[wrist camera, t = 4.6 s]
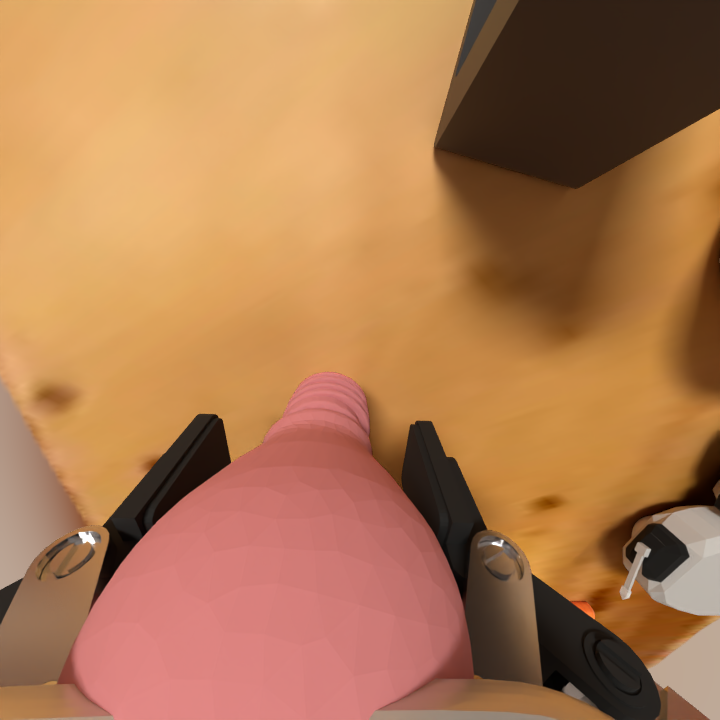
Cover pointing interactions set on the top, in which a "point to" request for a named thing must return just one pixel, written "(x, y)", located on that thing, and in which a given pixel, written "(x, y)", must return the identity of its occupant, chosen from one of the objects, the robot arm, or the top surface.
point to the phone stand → (579, 82)
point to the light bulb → (279, 587)
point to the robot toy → (677, 557)
